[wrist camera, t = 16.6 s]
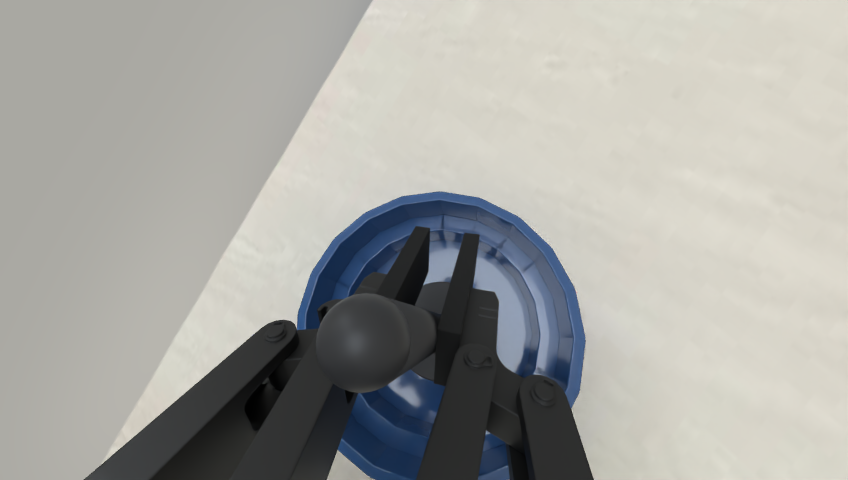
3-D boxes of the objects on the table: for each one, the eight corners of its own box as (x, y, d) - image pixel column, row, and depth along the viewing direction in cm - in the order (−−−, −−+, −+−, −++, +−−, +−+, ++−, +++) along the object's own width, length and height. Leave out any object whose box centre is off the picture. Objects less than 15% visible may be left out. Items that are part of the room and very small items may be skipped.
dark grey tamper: (382, 344, 21) (120, 398, 5) (428, 268, 22) (315, 130, 6) (459, 398, 19) (397, 698, 4) (505, 314, 20) (609, 278, 5)
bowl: (299, 359, 24) (244, 370, 18) (409, 190, 26) (390, 153, 21) (483, 505, 20) (487, 580, 14) (595, 287, 22) (637, 274, 16)
